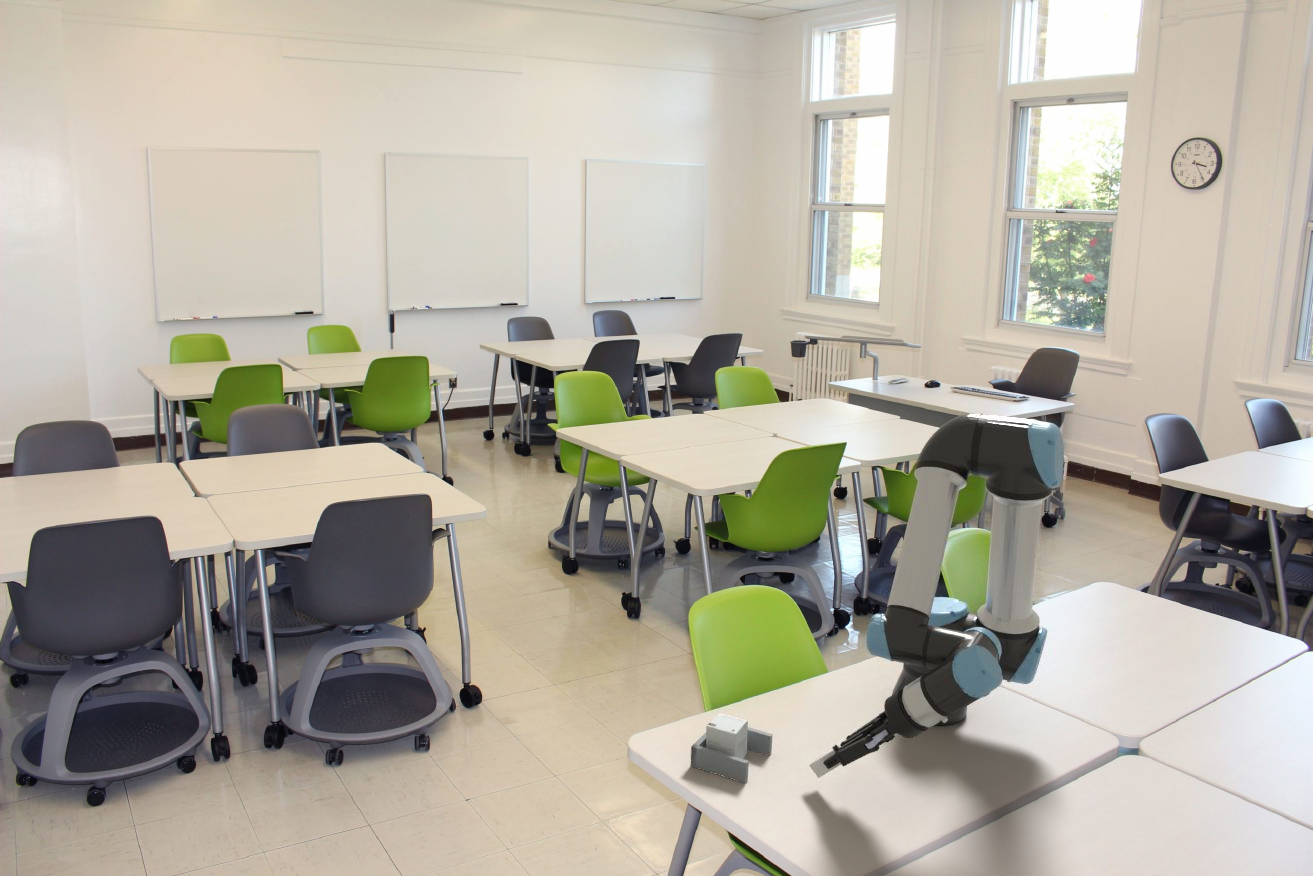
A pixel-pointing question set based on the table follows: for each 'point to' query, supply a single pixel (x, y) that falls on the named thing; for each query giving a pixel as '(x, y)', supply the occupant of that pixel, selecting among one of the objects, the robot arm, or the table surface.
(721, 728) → the skincare box
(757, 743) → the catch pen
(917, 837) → the table surface
